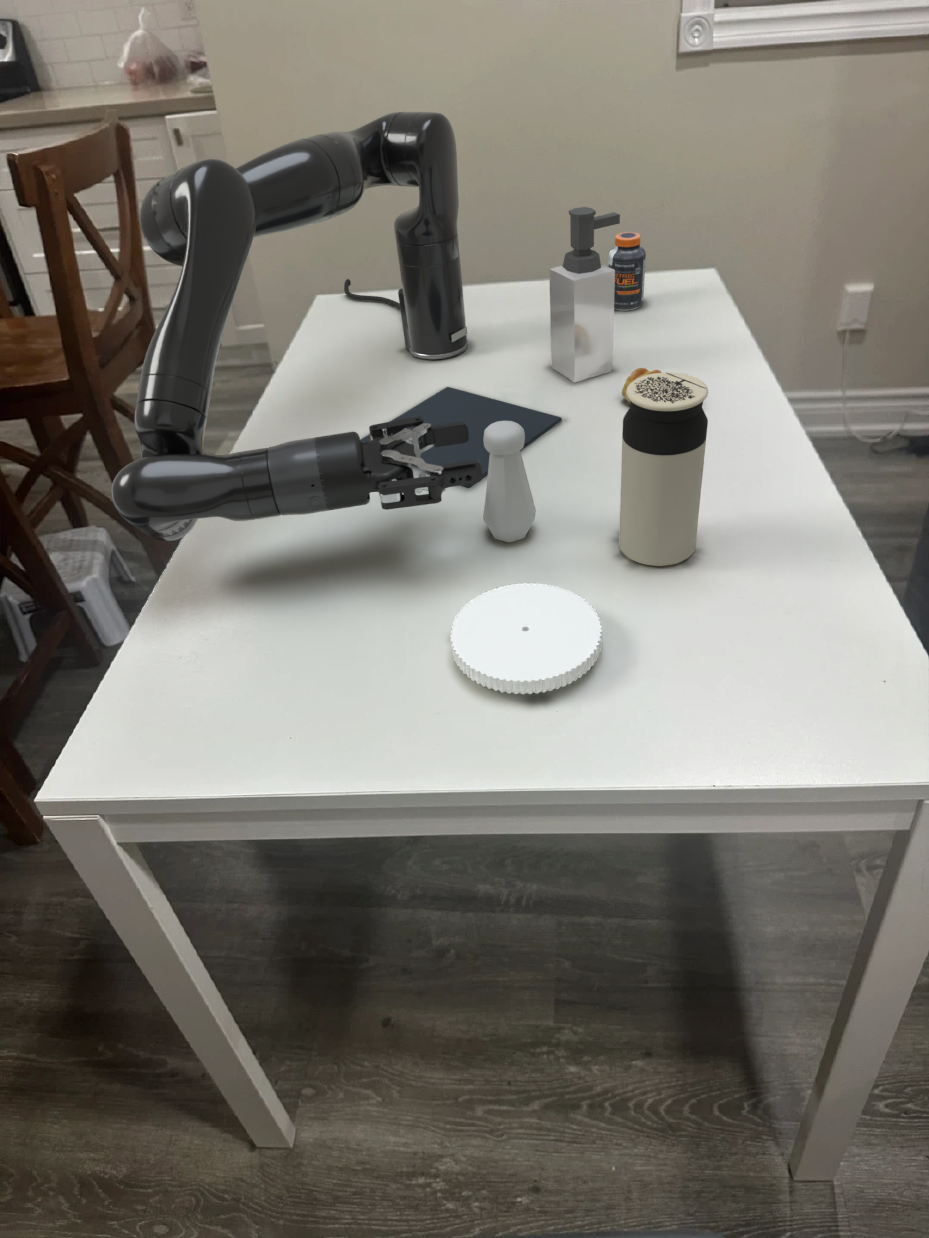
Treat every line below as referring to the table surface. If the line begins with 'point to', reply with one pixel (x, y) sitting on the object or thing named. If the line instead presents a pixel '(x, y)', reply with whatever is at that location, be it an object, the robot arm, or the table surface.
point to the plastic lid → (526, 638)
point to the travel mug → (662, 468)
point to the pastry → (634, 376)
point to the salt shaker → (507, 483)
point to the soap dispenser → (583, 302)
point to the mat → (473, 424)
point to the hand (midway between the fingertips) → (474, 450)
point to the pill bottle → (628, 271)
